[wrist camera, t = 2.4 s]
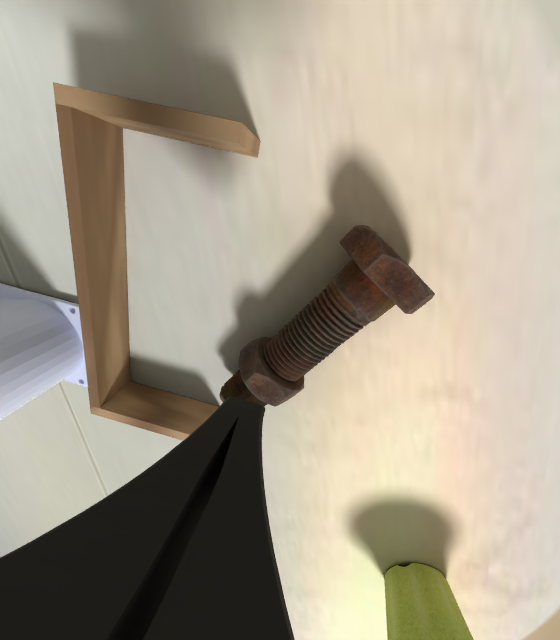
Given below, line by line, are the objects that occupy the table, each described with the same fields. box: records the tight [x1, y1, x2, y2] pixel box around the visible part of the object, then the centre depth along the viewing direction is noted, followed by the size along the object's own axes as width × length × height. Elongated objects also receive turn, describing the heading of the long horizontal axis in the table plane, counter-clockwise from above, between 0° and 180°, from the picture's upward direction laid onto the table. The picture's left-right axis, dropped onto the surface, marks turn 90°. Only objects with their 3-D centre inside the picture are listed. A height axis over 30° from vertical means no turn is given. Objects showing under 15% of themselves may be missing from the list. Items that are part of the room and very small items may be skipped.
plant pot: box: [384, 563, 473, 640], centre depth 24 cm, size 9×9×9 cm
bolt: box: [220, 225, 435, 406], centre depth 17 cm, size 6×5×15 cm
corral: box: [53, 82, 260, 440], centre depth 18 cm, size 9×21×4 cm, turn 168°
